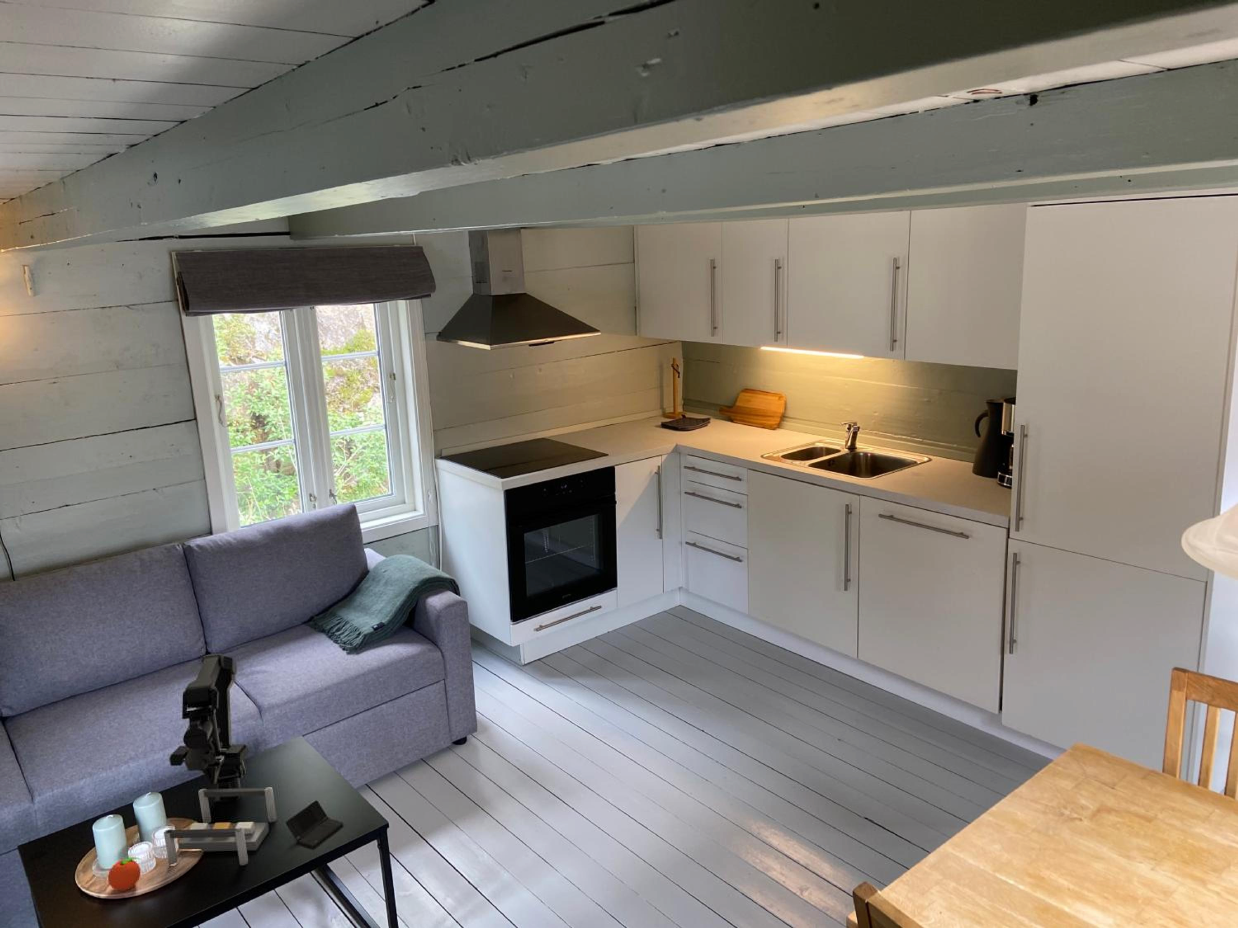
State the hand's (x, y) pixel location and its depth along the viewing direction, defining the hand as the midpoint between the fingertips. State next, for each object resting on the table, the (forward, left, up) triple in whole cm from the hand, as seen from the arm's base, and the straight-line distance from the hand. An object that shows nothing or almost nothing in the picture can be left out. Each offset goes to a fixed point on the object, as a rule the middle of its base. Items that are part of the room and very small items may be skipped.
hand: (213, 783), depth 240 cm
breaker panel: (+6, +4, -13) cm, 15 cm away
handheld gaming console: (+3, +27, -14) cm, 30 cm away
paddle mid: (+6, +4, -10) cm, 12 cm away
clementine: (+23, -12, -13) cm, 29 cm away
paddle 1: (+6, -2, -10) cm, 12 cm away
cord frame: (+6, +4, -13) cm, 15 cm away
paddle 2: (+6, +10, -10) cm, 15 cm away
